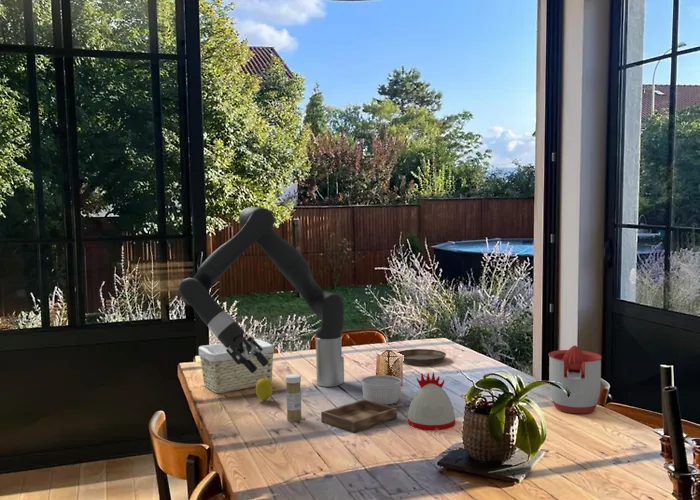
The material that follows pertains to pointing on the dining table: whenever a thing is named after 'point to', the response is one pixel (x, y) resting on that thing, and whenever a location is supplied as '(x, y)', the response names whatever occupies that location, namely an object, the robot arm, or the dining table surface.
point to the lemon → (264, 388)
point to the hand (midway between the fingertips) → (260, 367)
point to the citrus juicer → (575, 379)
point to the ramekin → (381, 389)
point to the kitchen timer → (431, 406)
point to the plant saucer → (422, 356)
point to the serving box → (358, 415)
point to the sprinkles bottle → (293, 397)
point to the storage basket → (232, 368)
